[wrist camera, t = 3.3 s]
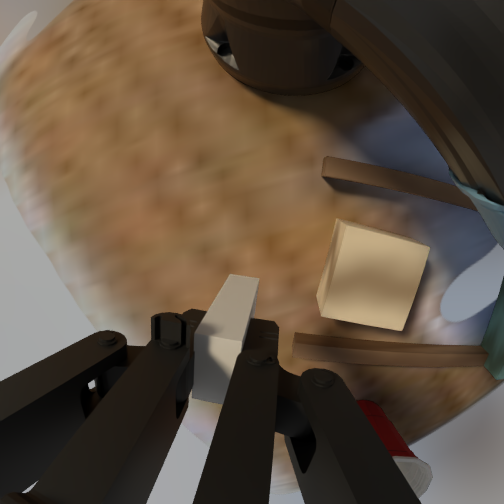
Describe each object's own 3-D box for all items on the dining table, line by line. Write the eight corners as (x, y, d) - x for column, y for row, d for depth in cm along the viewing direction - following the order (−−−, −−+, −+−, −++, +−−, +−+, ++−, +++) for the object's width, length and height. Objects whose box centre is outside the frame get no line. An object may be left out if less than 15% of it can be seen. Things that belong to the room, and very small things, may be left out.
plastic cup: (399, 366, 27) (440, 447, 15) (402, 431, 29) (427, 504, 17) (298, 394, 29) (300, 486, 17) (317, 454, 31) (321, 532, 19)
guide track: (323, 158, 24) (332, 151, 19) (527, 212, 22) (556, 219, 17) (292, 346, 27) (292, 376, 23) (486, 356, 26) (507, 378, 21)
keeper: (336, 218, 25) (346, 225, 20) (408, 237, 24) (430, 247, 20) (316, 295, 26) (321, 316, 22) (386, 309, 26) (401, 330, 22)
